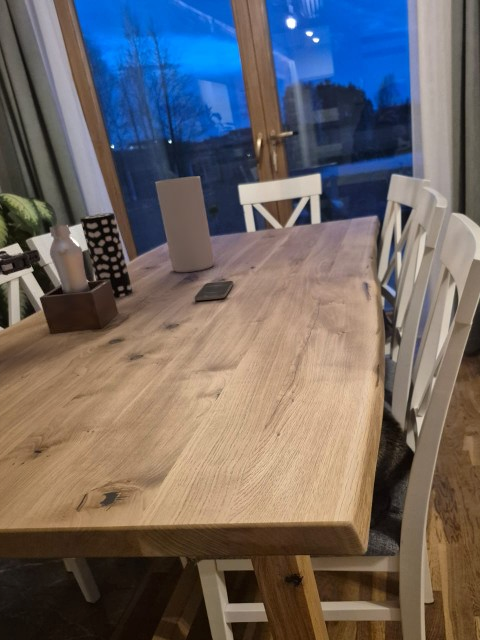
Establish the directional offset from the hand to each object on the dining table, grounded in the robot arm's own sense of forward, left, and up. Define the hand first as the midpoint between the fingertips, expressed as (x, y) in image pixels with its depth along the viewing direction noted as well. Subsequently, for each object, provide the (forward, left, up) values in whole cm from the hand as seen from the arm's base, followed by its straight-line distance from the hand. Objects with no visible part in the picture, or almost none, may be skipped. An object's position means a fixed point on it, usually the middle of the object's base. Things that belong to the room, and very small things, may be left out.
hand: (21, 255), depth 113 cm
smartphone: (+31, +27, -18) cm, 45 cm away
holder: (+4, +11, -18) cm, 21 cm away
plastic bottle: (+4, +10, -17) cm, 20 cm away
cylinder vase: (+19, +60, -18) cm, 65 cm away
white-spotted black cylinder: (+3, +36, -18) cm, 40 cm away
